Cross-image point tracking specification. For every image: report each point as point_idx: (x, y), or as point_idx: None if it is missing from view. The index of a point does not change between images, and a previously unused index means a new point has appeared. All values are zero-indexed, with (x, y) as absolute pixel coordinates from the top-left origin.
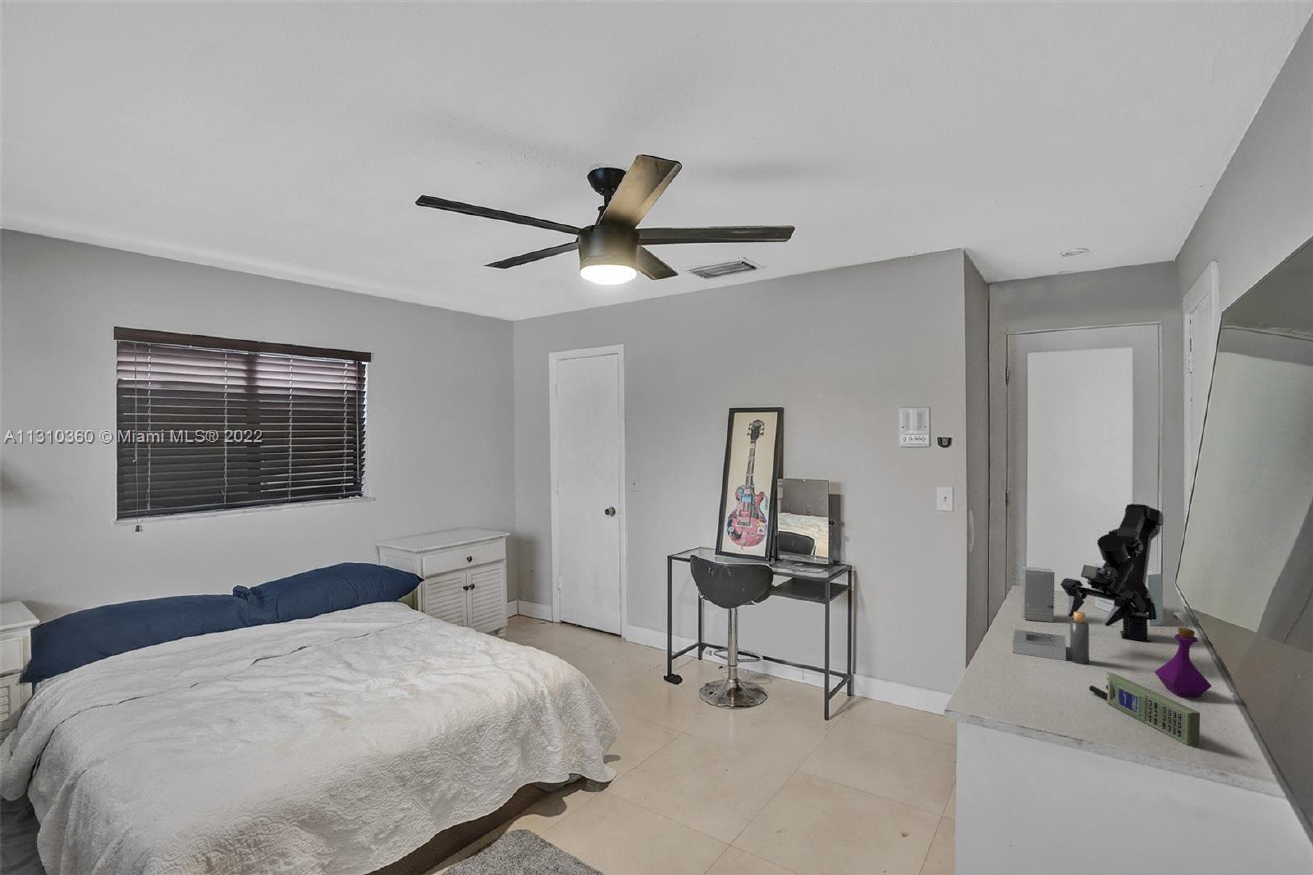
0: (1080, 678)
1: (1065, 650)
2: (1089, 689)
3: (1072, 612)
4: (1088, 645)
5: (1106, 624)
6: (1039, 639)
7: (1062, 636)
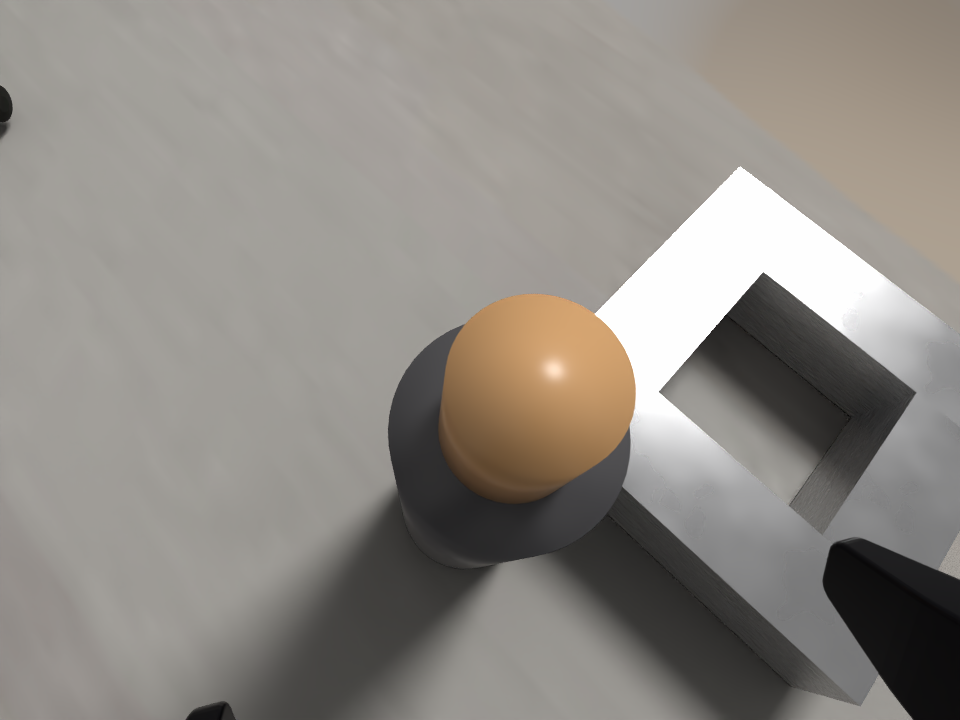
0: (209, 243)
1: None
2: (7, 95)
3: (888, 622)
4: (406, 518)
5: (196, 713)
6: (848, 465)
7: (849, 665)
